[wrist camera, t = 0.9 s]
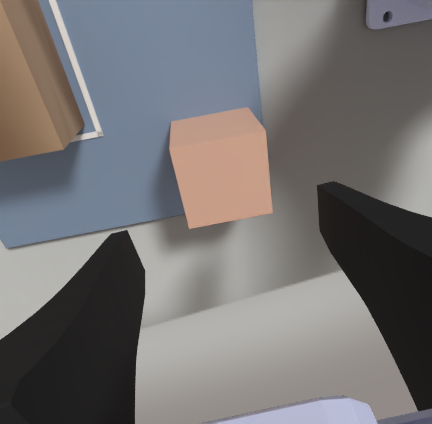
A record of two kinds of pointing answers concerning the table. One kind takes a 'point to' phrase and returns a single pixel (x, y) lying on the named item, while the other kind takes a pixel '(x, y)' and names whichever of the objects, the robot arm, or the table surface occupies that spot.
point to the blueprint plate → (128, 110)
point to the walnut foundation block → (32, 85)
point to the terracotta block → (221, 167)
